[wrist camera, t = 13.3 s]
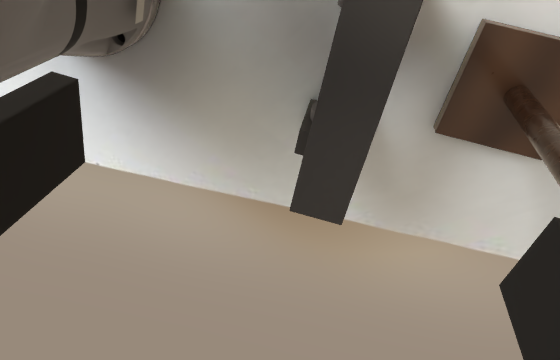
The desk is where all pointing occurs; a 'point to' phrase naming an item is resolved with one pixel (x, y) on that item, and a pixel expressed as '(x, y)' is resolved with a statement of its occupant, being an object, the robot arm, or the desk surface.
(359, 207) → the desk surface
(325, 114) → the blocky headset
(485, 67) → the stand
